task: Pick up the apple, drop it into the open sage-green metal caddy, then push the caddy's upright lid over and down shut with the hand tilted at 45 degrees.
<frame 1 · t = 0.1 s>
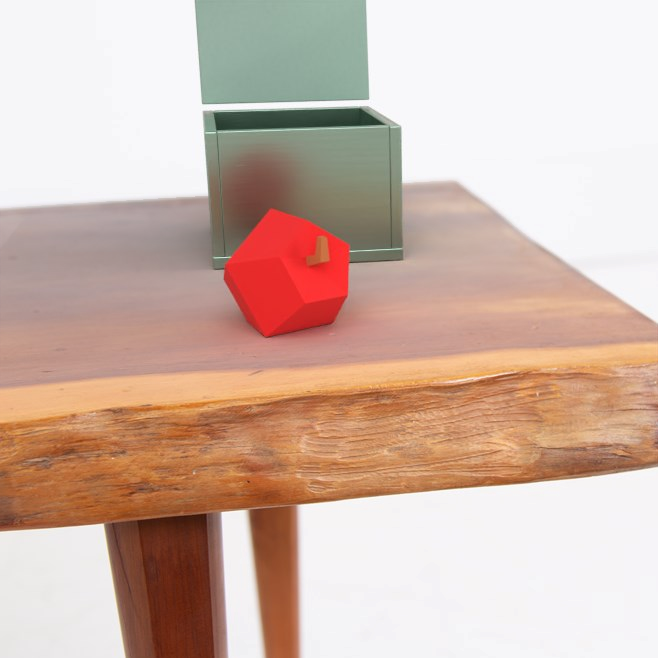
caddy: (300, 242, 81), on the table
apple: (289, 329, 61), on the table
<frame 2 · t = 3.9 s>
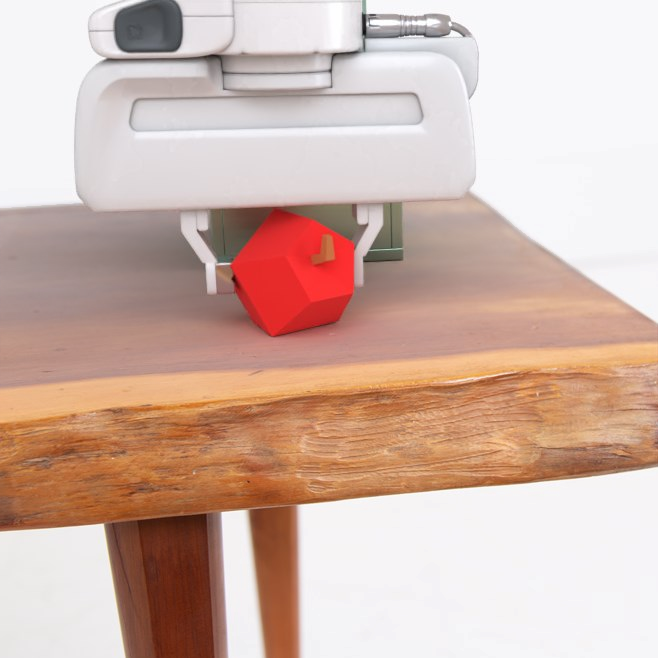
hand: (284, 289, 60), 2 cm above the table, tool pointing down, fingers closed on apple, 5 cm apart
apple: (295, 328, 61), on the table, touching gripper
everything else where it was.
when the fingers open (9 cm above the table, at t = 10.7 s): apple drops 6 cm, resting on caddy.
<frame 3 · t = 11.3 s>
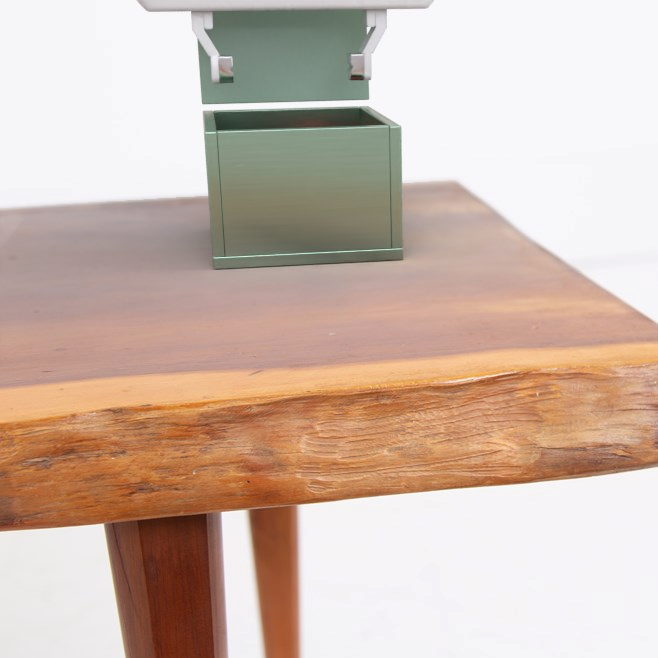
hand: (291, 81, 77), 11 cm above the table, tool pointing down, fingers open, 8 cm apart
apple: (336, 227, 82), point 1 cm above the table, touching caddy
everything else where it was.
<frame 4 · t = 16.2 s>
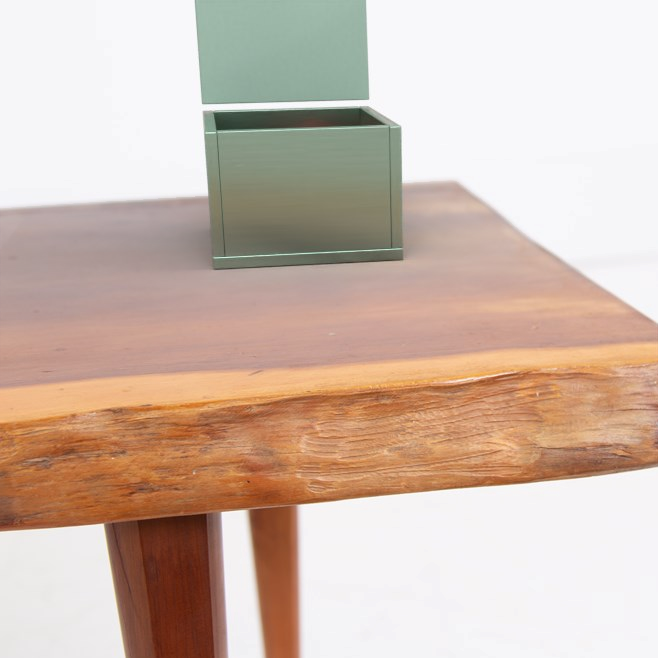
nothing on the table moved.
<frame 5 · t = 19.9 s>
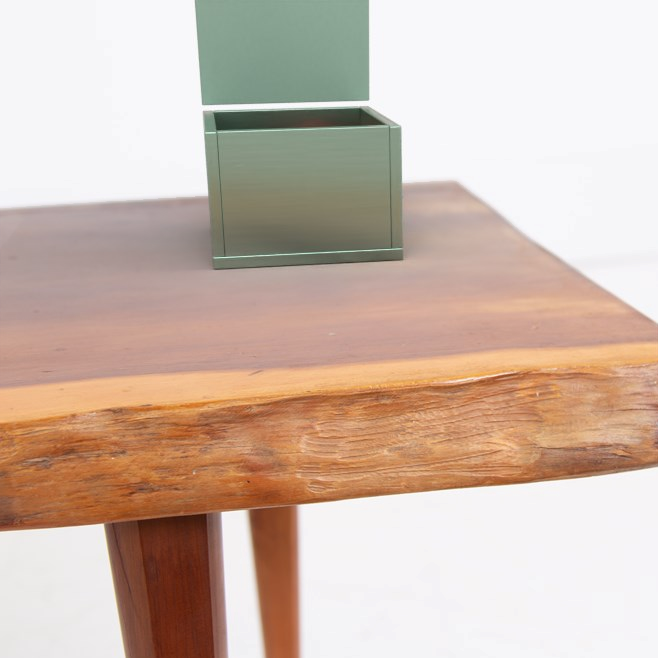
everything else where it was.
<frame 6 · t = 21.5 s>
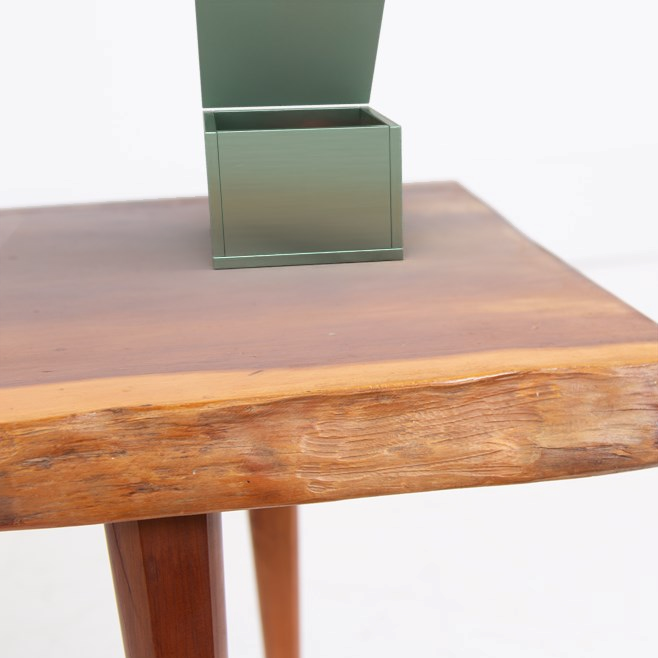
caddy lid: (289, 33, 78), point 14 cm above the table, hinge at 41.1°, touching gripper
everything else where it was.
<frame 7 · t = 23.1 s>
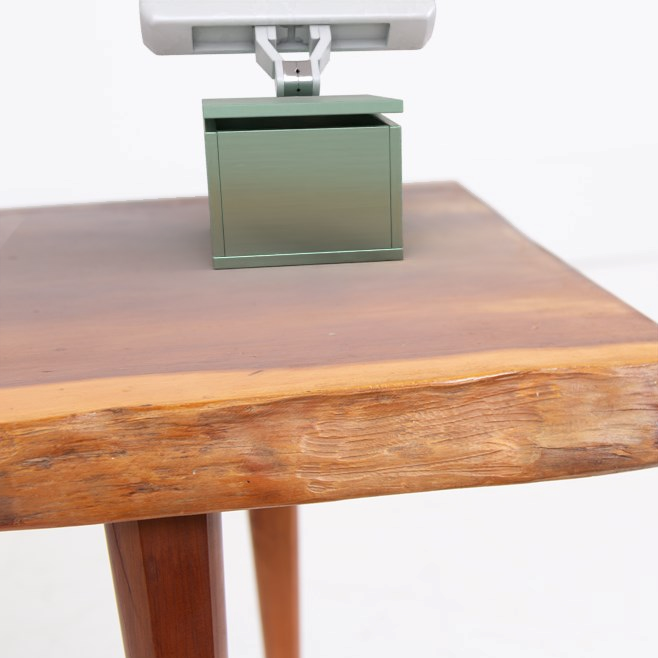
hand: (298, 90, 75), 11 cm above the table, tool tilted 45°, fingers closed, pressing on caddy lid
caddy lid: (294, 105, 78), point 10 cm above the table, hinge at 3.1°, touching gripper
everything else where it was.
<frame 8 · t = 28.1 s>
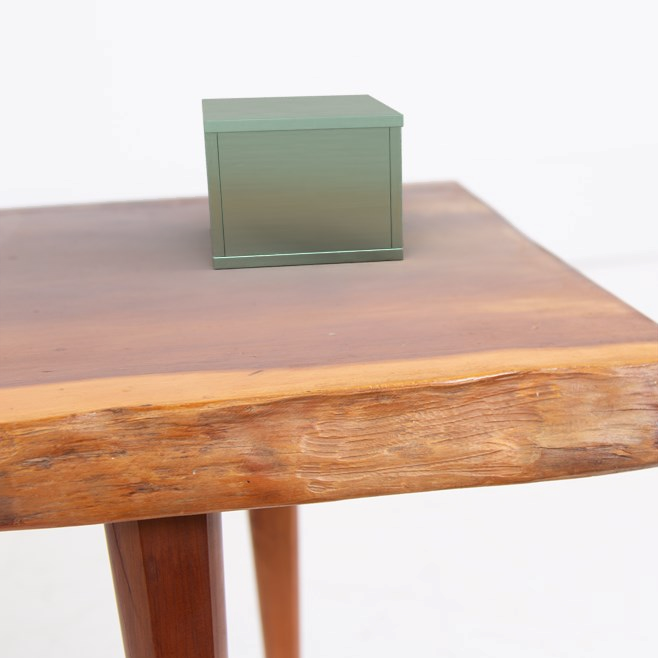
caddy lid: (294, 111, 78), point 9 cm above the table, hinge at -0.2°, touching caddy
everything else where it was.
at the end: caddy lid at +0° (first picture: +95°); apple inside the target area in the caddy (2.8 cm from its centre), point 0.8 cm above the caddy's base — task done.
